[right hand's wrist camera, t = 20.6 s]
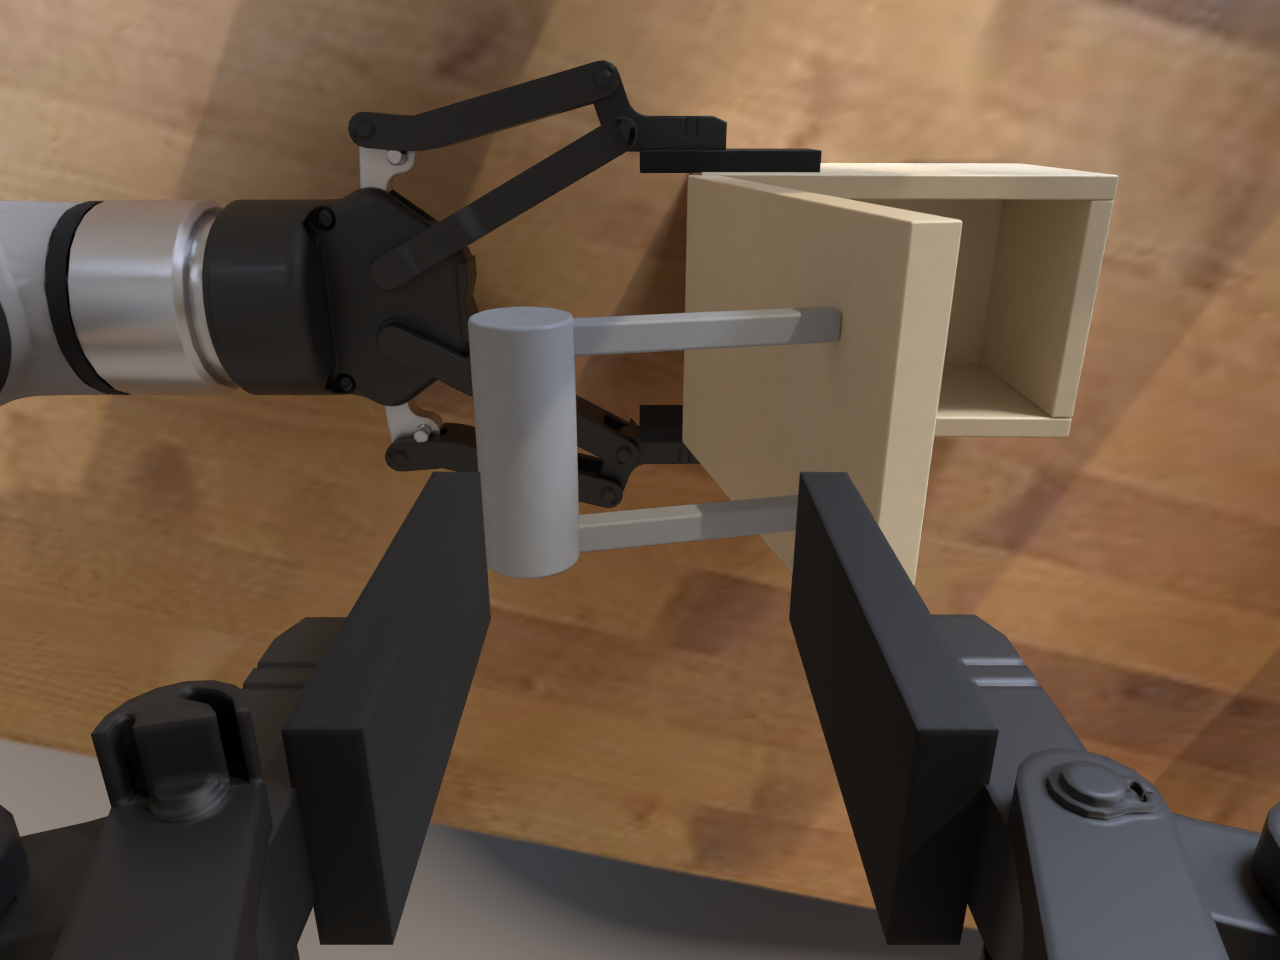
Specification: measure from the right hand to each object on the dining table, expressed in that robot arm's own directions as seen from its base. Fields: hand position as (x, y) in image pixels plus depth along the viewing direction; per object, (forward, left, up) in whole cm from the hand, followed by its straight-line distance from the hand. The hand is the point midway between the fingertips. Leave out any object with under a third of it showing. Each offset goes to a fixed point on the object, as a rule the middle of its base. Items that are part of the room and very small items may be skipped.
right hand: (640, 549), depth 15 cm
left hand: (-4, +6, -22) cm, 23 cm away
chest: (-5, +8, -28) cm, 30 cm away
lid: (-2, +4, -12) cm, 13 cm away
